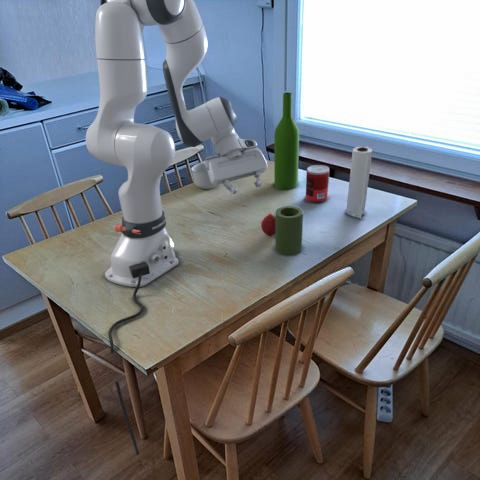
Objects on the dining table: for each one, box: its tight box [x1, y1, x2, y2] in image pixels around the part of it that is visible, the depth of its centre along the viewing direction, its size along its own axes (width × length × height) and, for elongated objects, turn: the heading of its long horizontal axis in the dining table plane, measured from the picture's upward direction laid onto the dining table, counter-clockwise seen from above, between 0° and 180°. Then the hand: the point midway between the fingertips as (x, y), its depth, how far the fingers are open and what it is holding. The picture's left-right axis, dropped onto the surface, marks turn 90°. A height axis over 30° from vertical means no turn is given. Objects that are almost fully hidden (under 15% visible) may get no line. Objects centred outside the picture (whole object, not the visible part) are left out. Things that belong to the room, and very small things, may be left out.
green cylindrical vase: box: [275, 205, 304, 256], centre depth 136 cm, size 8×8×12 cm
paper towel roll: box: [345, 146, 373, 220], centre depth 150 cm, size 7×6×21 cm
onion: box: [260, 212, 276, 237], centre depth 144 cm, size 6×6×8 cm
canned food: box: [305, 164, 330, 204], centre depth 164 cm, size 8×8×11 cm
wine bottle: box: [273, 92, 300, 190], centre depth 168 cm, size 9×9×32 cm
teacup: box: [190, 161, 217, 190], centre depth 180 cm, size 14×11×8 cm
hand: (246, 189), depth 149 cm, fingers open, 8 cm apart
